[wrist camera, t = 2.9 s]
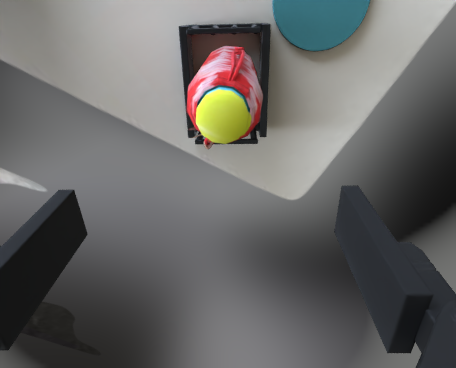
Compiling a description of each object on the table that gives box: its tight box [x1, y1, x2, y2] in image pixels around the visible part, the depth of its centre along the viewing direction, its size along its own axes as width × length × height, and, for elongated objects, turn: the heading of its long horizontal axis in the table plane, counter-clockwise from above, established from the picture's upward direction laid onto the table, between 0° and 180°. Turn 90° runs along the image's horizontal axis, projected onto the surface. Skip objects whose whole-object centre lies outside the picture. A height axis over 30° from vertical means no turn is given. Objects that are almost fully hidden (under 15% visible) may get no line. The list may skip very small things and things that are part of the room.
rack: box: [179, 23, 271, 144], centre depth 45 cm, size 12×15×7 cm
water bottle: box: [187, 46, 263, 149], centre depth 37 cm, size 12×8×25 cm, turn 158°
